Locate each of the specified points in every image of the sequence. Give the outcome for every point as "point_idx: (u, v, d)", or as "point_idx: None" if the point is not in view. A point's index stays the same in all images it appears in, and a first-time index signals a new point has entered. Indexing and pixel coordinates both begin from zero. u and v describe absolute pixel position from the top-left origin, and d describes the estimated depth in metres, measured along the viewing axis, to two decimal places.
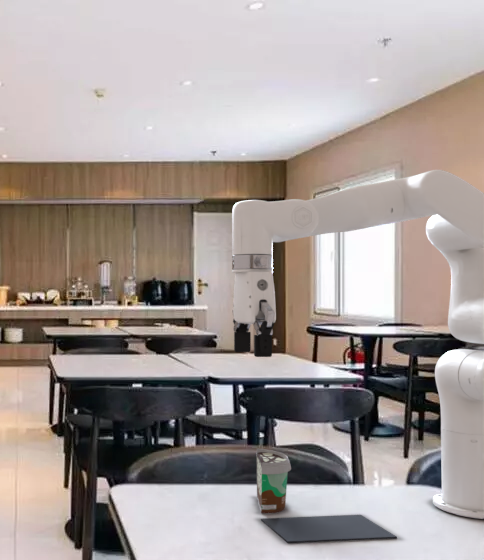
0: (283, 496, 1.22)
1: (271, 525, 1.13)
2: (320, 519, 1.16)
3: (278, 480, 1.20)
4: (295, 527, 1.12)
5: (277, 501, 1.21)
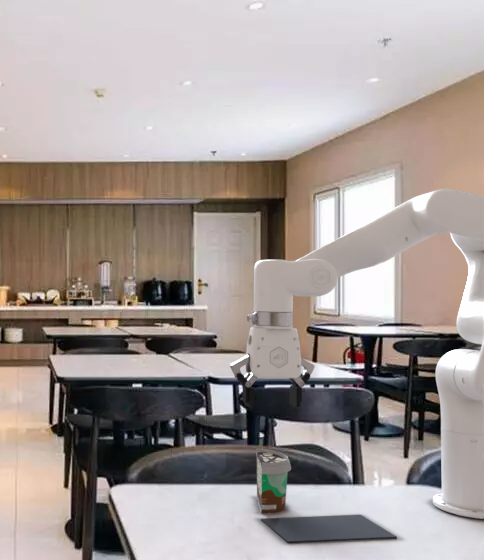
0: (283, 496, 1.22)
1: (271, 525, 1.13)
2: (320, 519, 1.16)
3: (278, 480, 1.20)
4: (295, 527, 1.12)
5: (277, 501, 1.21)
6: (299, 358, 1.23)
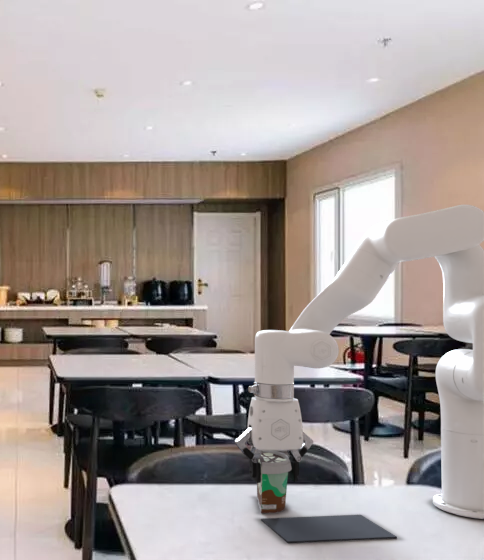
0: (283, 496, 1.22)
1: (271, 525, 1.13)
2: (320, 519, 1.16)
3: (278, 480, 1.20)
4: (295, 527, 1.12)
5: (277, 501, 1.21)
6: (301, 430, 1.23)
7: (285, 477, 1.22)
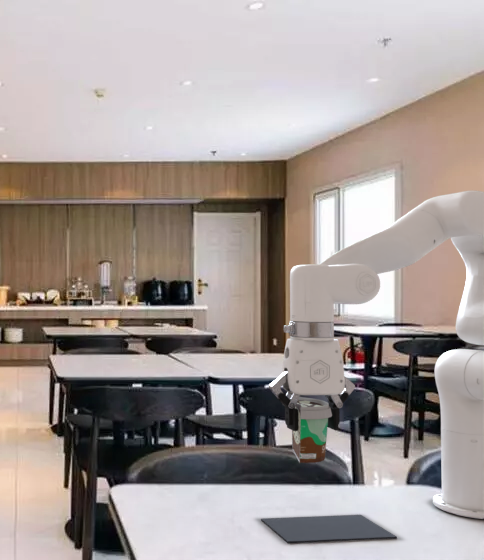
0: (323, 445, 1.11)
1: (271, 525, 1.13)
2: (320, 519, 1.16)
3: (318, 427, 1.09)
4: (295, 527, 1.12)
5: (317, 450, 1.10)
6: (342, 372, 1.12)
7: (325, 424, 1.11)
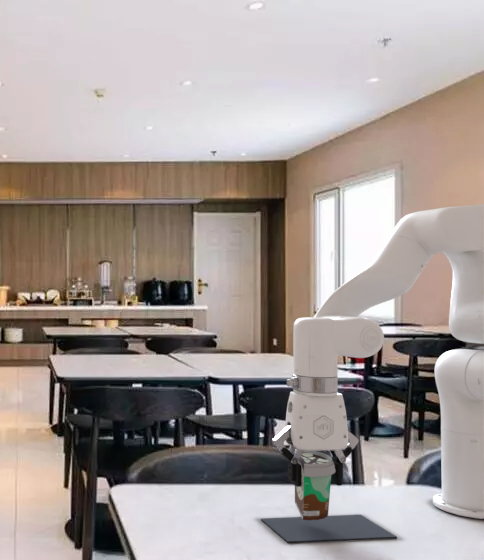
0: (327, 501, 1.10)
1: (271, 525, 1.13)
2: (320, 519, 1.16)
3: (322, 483, 1.08)
4: (295, 527, 1.12)
5: (320, 507, 1.08)
6: (346, 428, 1.11)
7: (329, 480, 1.09)
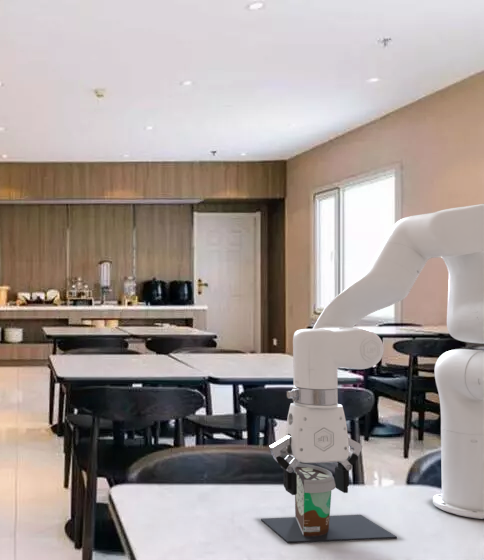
0: (327, 517, 1.09)
1: (271, 525, 1.13)
2: None
3: (322, 499, 1.08)
4: (295, 527, 1.12)
5: (321, 523, 1.08)
6: (346, 439, 1.11)
7: (329, 496, 1.09)
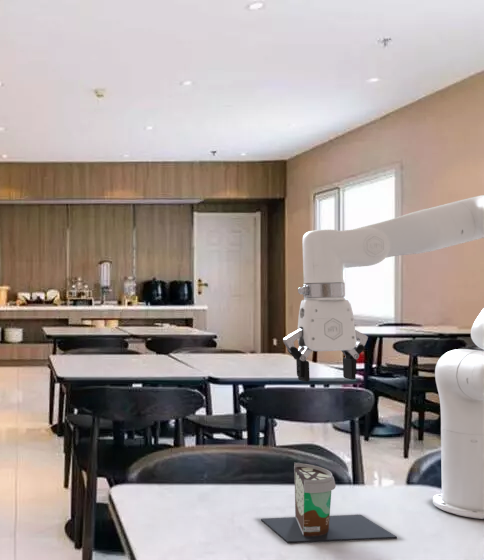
0: (327, 517, 1.09)
1: (271, 525, 1.13)
2: None
3: (322, 499, 1.08)
4: (295, 527, 1.12)
5: (321, 523, 1.08)
6: (353, 329, 1.20)
7: (329, 496, 1.09)
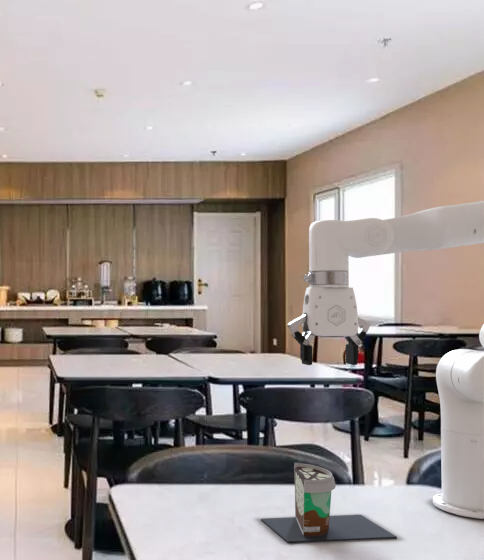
0: (327, 517, 1.09)
1: (271, 525, 1.13)
2: None
3: (322, 499, 1.08)
4: (295, 527, 1.12)
5: (321, 523, 1.08)
6: (356, 316, 1.25)
7: (329, 496, 1.09)
